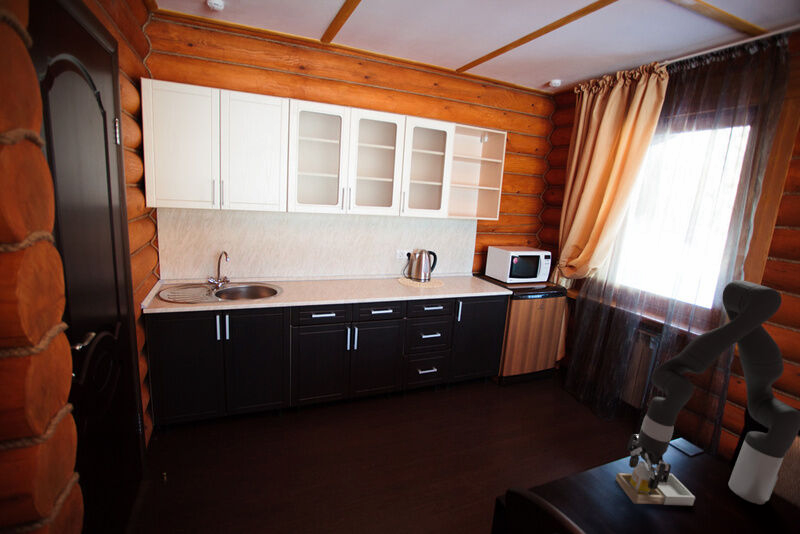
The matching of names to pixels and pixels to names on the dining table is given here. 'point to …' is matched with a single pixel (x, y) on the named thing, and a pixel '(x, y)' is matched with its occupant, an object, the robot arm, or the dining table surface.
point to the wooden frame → (638, 498)
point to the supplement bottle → (640, 478)
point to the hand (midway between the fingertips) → (641, 477)
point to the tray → (675, 492)
